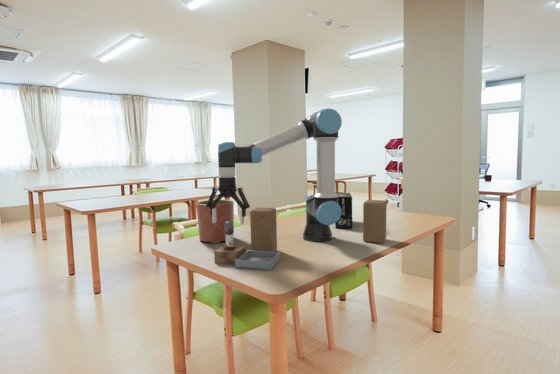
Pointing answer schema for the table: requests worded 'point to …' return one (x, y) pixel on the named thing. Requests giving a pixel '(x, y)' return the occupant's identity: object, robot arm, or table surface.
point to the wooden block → (263, 229)
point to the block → (374, 221)
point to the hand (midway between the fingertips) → (228, 223)
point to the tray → (258, 260)
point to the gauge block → (228, 254)
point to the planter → (215, 230)
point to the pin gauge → (229, 232)
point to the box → (345, 210)
